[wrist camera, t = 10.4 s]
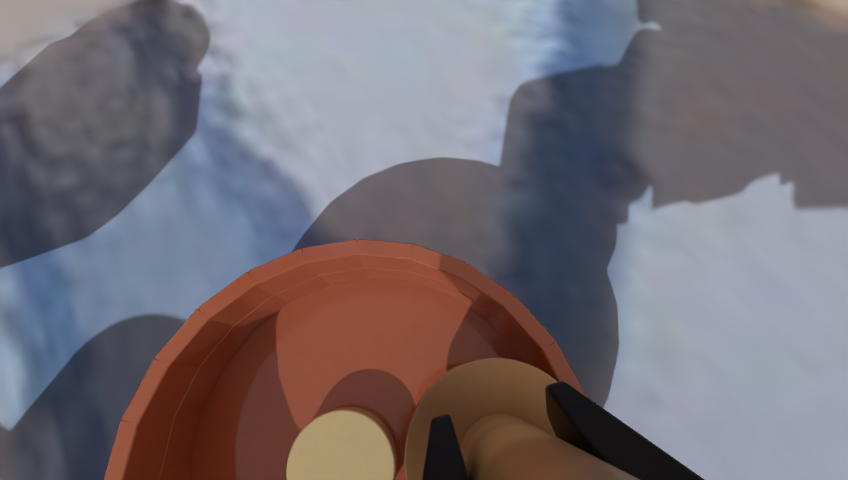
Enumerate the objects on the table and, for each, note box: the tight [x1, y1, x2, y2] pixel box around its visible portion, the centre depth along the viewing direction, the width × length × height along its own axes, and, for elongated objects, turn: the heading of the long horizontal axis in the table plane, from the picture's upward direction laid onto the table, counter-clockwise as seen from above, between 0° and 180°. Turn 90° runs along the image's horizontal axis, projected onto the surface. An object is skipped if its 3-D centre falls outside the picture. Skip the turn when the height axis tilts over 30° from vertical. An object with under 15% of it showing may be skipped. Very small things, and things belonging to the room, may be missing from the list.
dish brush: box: [404, 358, 640, 480], centre depth 9 cm, size 5×5×13 cm
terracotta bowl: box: [104, 239, 586, 480], centre depth 15 cm, size 15×15×4 cm
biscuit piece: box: [286, 407, 397, 480], centre depth 16 cm, size 4×4×1 cm
